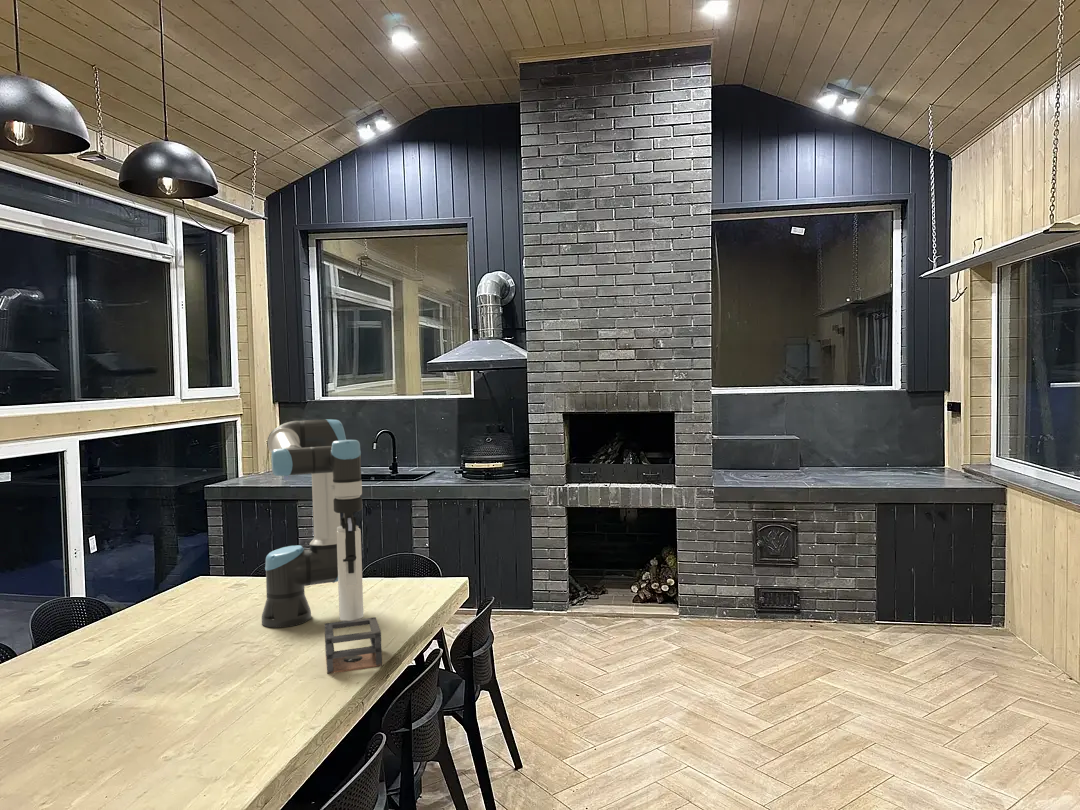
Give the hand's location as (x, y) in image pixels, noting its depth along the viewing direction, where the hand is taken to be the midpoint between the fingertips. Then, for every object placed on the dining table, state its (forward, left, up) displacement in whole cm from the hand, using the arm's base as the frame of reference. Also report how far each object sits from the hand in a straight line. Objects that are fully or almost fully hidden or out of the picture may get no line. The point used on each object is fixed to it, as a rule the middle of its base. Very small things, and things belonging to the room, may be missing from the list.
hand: (350, 581), depth 193 cm
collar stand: (0, 0, -22) cm, 22 cm away
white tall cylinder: (0, 0, -10) cm, 10 cm away
